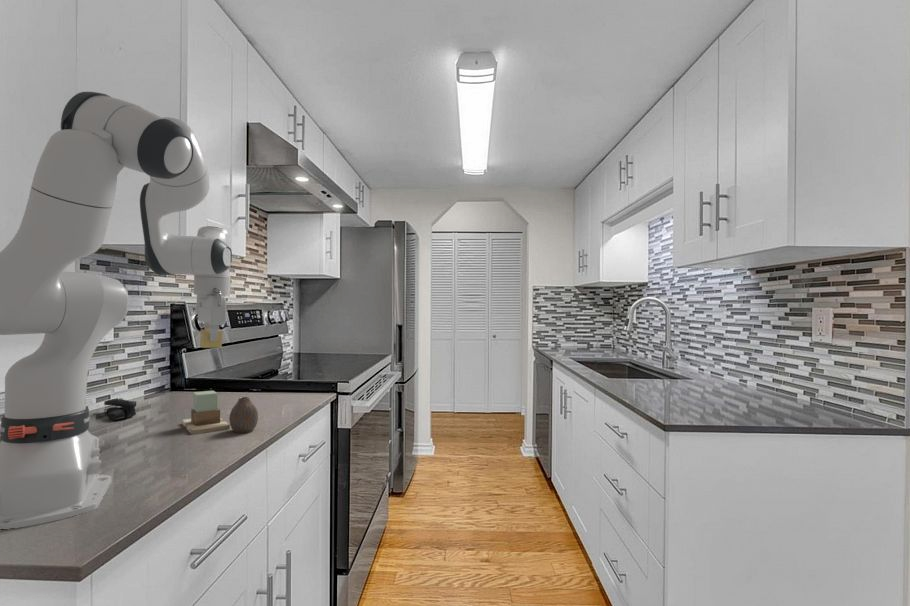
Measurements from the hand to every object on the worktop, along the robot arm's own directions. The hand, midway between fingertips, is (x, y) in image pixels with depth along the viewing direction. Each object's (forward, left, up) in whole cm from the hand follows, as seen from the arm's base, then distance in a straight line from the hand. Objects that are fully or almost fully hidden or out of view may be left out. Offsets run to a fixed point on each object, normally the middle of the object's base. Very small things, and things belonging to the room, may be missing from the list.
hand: (211, 340), depth 133 cm
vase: (-9, -6, -24) cm, 26 cm away
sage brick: (+2, +1, -19) cm, 19 cm away
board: (+2, +1, -24) cm, 24 cm away
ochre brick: (0, 0, -2) cm, 2 cm away
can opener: (+31, +19, -24) cm, 44 cm away
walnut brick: (+2, +1, -22) cm, 22 cm away
